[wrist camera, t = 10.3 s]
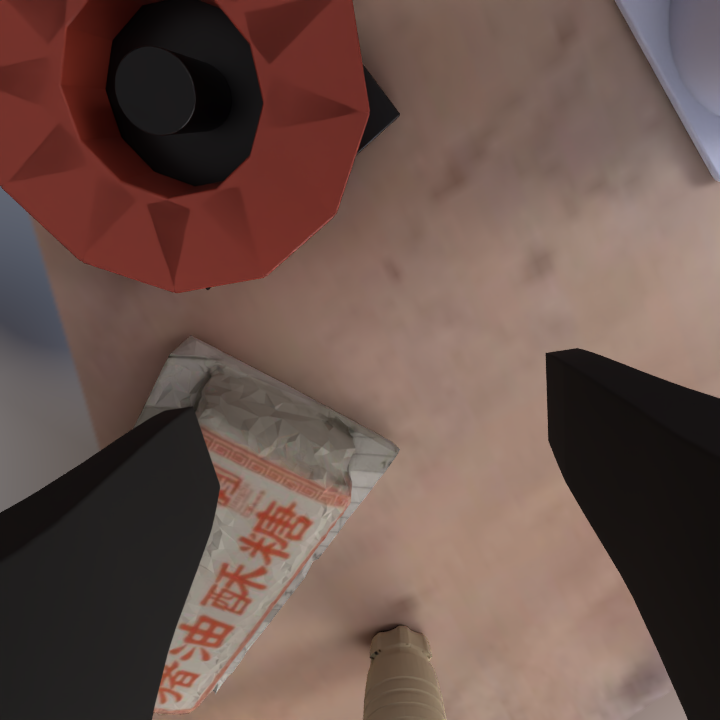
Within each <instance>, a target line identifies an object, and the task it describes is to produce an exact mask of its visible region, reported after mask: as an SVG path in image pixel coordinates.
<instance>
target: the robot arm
mask: <svg viewBox="0 0 720 720" xmlns="http://www.w3.org/2000/svg"><path fill="white" fill-rule="evenodd" d="M615 2H616V4H617V6H618V8H619V9H620V11H621V13H622V15H623V17H624V18H625V20H626V22H627V24H628V26H629V27H630V29H631V31H632V33H633V35H634V36H635V38H636V40H637V42H638V44H639V45H640V47H641V49H642V51H643V53H644V55H645V56H646V58H647V60H648V62H649V64H650V65H651V67H652V69H653V71H654V73H655V74H656V76H657V78H658V80H659V82H660V83H661V85H662V87H663V89H664V91H665V92H666V94H667V96H668V98H669V100H670V101H671V103H672V105H673V107H674V109H675V110H676V112H677V114H678V116H679V118H680V120H681V121H682V123H683V125H684V127H685V129H686V130H687V132H688V134H689V136H690V138H691V139H692V141H693V143H694V145H695V147H696V148H697V150H698V152H699V154H700V156H701V157H702V159H703V161H704V163H705V165H706V166H707V168H708V170H709V172H710V174H711V175H712V177H713V178H714V179H715V180H716V181H719V182H720V0H615ZM546 378H547V410H548V441H549V443H550V446H551V448H552V451H553V453H554V456H555V458H556V461H557V463H558V466H559V468H560V470H561V473H562V475H563V477H564V480H565V482H566V484H567V485H568V487H569V489H570V491H571V492H572V494H573V496H574V497H575V499H576V501H577V502H578V504H579V506H580V508H581V509H582V511H583V513H584V514H585V516H586V518H587V519H588V521H589V523H590V524H591V526H592V528H593V529H594V531H595V533H596V534H597V536H598V538H599V539H600V541H601V543H602V544H603V546H604V548H605V549H606V551H607V553H608V554H609V556H610V558H611V559H612V561H613V563H614V564H615V566H616V568H617V569H618V571H619V573H620V574H621V576H622V578H623V580H624V582H625V584H626V585H627V587H628V589H629V591H630V593H631V595H632V597H633V598H634V601H635V603H636V605H637V607H638V609H639V611H640V613H641V616H642V618H643V620H644V622H645V624H646V626H647V629H648V631H649V633H650V635H651V637H652V639H653V642H654V644H655V646H656V648H657V650H658V652H659V655H660V657H661V659H662V661H663V664H664V666H665V668H666V671H667V673H668V675H669V677H670V680H671V682H672V684H673V687H674V689H675V691H676V693H677V696H678V698H679V700H680V702H681V705H682V707H683V709H684V711H685V714H686V716H687V719H688V720H720V398H717V397H713V396H710V395H707V394H704V393H701V392H698V391H695V390H692V389H689V388H686V387H683V386H680V385H677V384H674V383H672V382H669V381H666V380H663V379H661V378H658V377H655V376H653V375H650V374H647V373H645V372H642V371H639V370H637V369H634V368H632V367H629V366H627V365H624V364H622V363H619V362H616V361H614V360H611V359H609V358H606V357H603V356H601V355H598V354H595V353H592V352H589V351H586V350H583V349H578V348H576V349H569V350H563V351H556V352H549V353H546ZM219 491H220V483H219V480H218V478H217V475H216V472H215V469H214V466H213V463H212V460H211V457H210V454H209V451H208V448H207V445H206V443H205V440H204V437H203V434H202V431H201V428H200V425H199V422H198V419H197V416H196V413H195V410H194V408H193V406H191V407H185V408H178V409H172V410H165V411H163V412H161V413H159V414H157V415H155V416H153V417H151V418H149V419H148V420H146V421H144V422H143V423H141V424H140V425H138V426H137V427H135V428H134V429H132V430H131V431H129V432H128V433H126V434H125V435H123V436H122V437H120V438H119V439H117V440H116V441H114V442H113V443H111V444H110V445H108V446H107V447H105V448H104V449H102V450H101V451H99V452H98V453H96V454H95V455H93V456H92V457H90V458H89V459H88V460H86V461H85V462H83V463H81V464H80V465H78V466H77V467H75V468H74V469H72V470H70V471H69V472H67V473H66V474H64V475H63V476H61V477H59V478H58V479H56V480H55V481H53V482H52V483H50V484H48V485H47V486H45V487H44V488H42V489H41V490H39V491H37V492H36V493H34V494H32V495H31V496H29V497H28V498H26V499H24V500H22V501H20V502H19V503H17V504H15V505H13V506H12V507H10V508H8V509H6V510H4V511H2V512H1V513H0V720H152V716H153V712H154V707H155V703H156V699H157V695H158V691H159V687H160V683H161V679H162V675H163V671H164V667H165V663H166V659H167V655H168V652H169V648H170V645H171V642H172V639H173V636H174V633H175V630H176V627H177V624H178V621H179V618H180V616H181V613H182V610H183V608H184V605H185V602H186V599H187V597H188V594H189V591H190V588H191V586H192V583H193V580H194V578H195V575H196V572H197V569H198V567H199V564H200V561H201V558H202V556H203V553H204V550H205V547H206V544H207V542H208V539H209V536H210V533H211V530H212V526H213V522H214V517H215V513H216V508H217V502H218V497H219Z"/></svg>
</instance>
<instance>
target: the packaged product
mask: <svg viewBox="0 0 720 720" xmlns="http://www.w3.org/2000/svg"><path fill="white" fill-rule="evenodd" d="M191 406H193V408H194V410H195V413H196V416H197V419H198V422H199V425H200V428H201V431H202V434H203V437H204V440H205V443H206V445H207V448H208V451H209V454H210V457H211V460H212V463H213V466H214V469H215V472H216V475H217V478H218V480H219V483H220V491H219V497H218V502H217V508H216V513H215V517H214V522H213V526H212V530H211V533H210V536H209V539H208V542H207V544H206V547H205V550H204V553H203V556H202V558H201V561H200V564H199V567H198V569H197V572H196V575H195V578H194V580H193V583H192V586H191V588H190V591H189V594H188V597H187V599H186V602H185V605H184V608H183V610H182V613H181V616H180V618H179V621H178V624H177V627H176V630H175V633H174V636H173V639H172V642H171V645H170V648H169V652H168V655H167V659H166V663H165V667H164V671H163V675H162V679H161V683H160V687H159V691H158V695H157V699H156V703H155V707H154V712H153V713H155V712H157V714H158V715H167V714H188V713H190V712H191V711H193V710H194V709H196V708H197V707H199V706H200V704H201V703H202V701H203V700H204V699H205V698H206V697H207V696H208V695H209V694H210V693H211V692H212V691H214V692H215V694H216V693H217V691H218V690H219V688H220V687H221V685H222V684H223V683H224V681H225V680H226V679H227V677H228V676H229V675H230V674H232V673H233V671H234V670H235V668H236V667H237V666H238V664H239V663H240V662H241V660H242V659H243V657H244V655H245V653H246V652H247V651H248V650H249V648H250V647H251V646H252V645H253V643H254V642H255V641H256V639H257V638H258V637H259V636H260V634H261V633H262V632H263V631H264V629H265V628H266V627H267V626H268V624H269V623H270V622H271V621H272V619H273V618H274V617H275V615H276V614H277V613H278V612H279V610H280V609H281V608H282V606H283V605H284V604H285V602H286V601H287V599H288V598H289V597H290V596H291V595H292V593H293V592H294V591H295V590H296V588H297V587H298V586H299V584H300V583H301V582H302V580H303V579H304V578H305V576H306V574H307V572H308V570H309V568H310V566H311V564H312V562H313V561H314V560H317V559H319V557H320V556H321V555H322V553H323V552H324V551H325V549H326V548H327V547H328V545H329V544H330V543H331V541H332V540H333V539H334V537H335V536H336V535H337V534H338V532H339V531H340V530H341V528H342V527H343V525H344V524H345V522H346V520H347V519H348V518H349V517H350V516H351V514H352V513H353V512H354V511H355V510H356V508H357V507H358V506H359V505H360V503H361V502H362V501H363V499H364V498H365V497H366V496H367V494H368V493H369V492H370V491H371V489H372V488H373V486H374V485H375V483H376V482H377V481H378V480H379V479H380V477H381V476H382V475H383V474H384V472H385V471H386V470H387V468H388V467H389V466H390V464H391V463H392V461H393V460H394V458H395V457H396V456H397V454H398V452H399V450H400V449H399V448H398V447H397V446H396V445H395V444H394V443H393V442H392V441H390V440H388V439H386V438H384V437H382V436H380V435H379V434H377V433H375V432H373V431H371V430H369V429H367V428H366V427H364V426H362V425H360V424H358V423H356V422H355V421H353V420H351V419H349V418H347V417H345V416H343V415H342V414H340V413H338V412H336V411H334V410H332V409H330V408H329V407H327V406H325V405H323V404H321V403H319V402H317V401H316V400H314V399H312V398H310V397H308V396H306V395H304V394H303V393H301V392H299V391H297V390H295V389H293V388H292V387H290V386H288V385H286V384H284V383H282V382H280V381H278V380H276V379H274V378H272V377H271V376H269V375H267V374H265V373H263V372H261V371H259V370H257V369H255V368H253V367H251V366H249V365H247V364H245V363H244V362H242V361H240V360H238V359H236V358H234V357H232V356H230V355H228V354H226V353H224V352H222V351H220V350H219V349H217V348H215V347H213V346H211V345H209V344H207V343H205V342H203V341H201V340H199V339H197V338H195V337H193V336H192V335H190V336H189V337H188V338H187V339H186V340H185V341H184V342H183V343H182V344H180V345H179V346H178V347H177V348H176V349H175V350H174V351H173V352H172V353H171V354H170V355H169V357H168V359H167V361H166V363H165V365H164V366H163V369H162V371H161V373H160V375H159V377H158V379H157V381H156V383H155V385H154V387H153V389H152V392H151V394H150V396H149V398H148V400H147V402H146V404H145V406H144V408H143V410H142V412H141V414H140V416H139V418H138V420H137V422H136V424H135V426H134V428H135V427H137V426H138V425H140V424H141V423H143V422H144V421H146V420H148V419H149V418H151V417H153V416H155V415H157V414H159V413H161V412H163V411H165V410H172V409H178V408H185V407H191ZM134 428H133V429H134Z"/></svg>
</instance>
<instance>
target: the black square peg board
mask: <svg viewBox="0 0 720 720" xmlns="http://www.w3.org/2000/svg"><path fill="white" fill-rule="evenodd" d="M363 71H364V77H365V83H366V90H367V96H368V102H369V109H370V112H369V118H368V121H367V124H366V127H365V130H364V133H363V136H362V139H361V142H360V145H359V148H358V151H357V154H358V153H359V152H361V151H362V150H363V149H364V148H365V147H366V146H367V145H368V144H369V143H370V142H372V141H373V140H374V139H375V138H376V137H377V136H378V135H379V134H380V133H381V132H383V131H384V130H385V129H386V128H387V127H388V126H389V125H390V124H391V123H392V122H394V121H395V120H396V119H397V118H398V117H399V116H400V113H399V112H398V111H397V109H396V108H395V107H394V105H393V104H392V103H391V101H390V100H389V99H388V97H387V96H386V95H385V93H384V92H383V91H382V89H381V88H380V87H379V85H378V84H377V82H376V81H375V80H374V78H373V77H372V76H371V74H370V73H369V72H368V70H367V69H366V68H365V66H364V65H363ZM105 90H106V93H107V96H108V99H109V102H110V105H111V108H112V111H113V114H114V117H115V120H116V123H117V126H118V129H119V132H120V135H121V137H122V138H123V140H124V141H125V142H126V143H127V144H128V145H129V146H130V147H131V148H132V149H133V150H134V151H135V152H136V153H137V154H138V155H139V156H140V157H141V158H142V159H143V161H144V162H145V163H146V164H147V165H148V166H149V167H150V168H151V169H152V170H153V171H154V172H156V173H159V174H162V175H165V176H168V177H170V178H173V179H176V180H179V181H181V182H184V183H187V184H190V185H193V186H200V185H205V184H211V183H216V182H221V181H224V180H225V179H226V178H227V177H228V176H229V175H230V174H231V173H232V172H233V171H234V170H235V169H236V168H237V167H238V166H239V165H240V164H241V163H242V162H243V161H244V160H245V159H246V158H247V157H248V156H250V153H251V149H252V145H253V141H254V137H255V133H256V129H257V125H258V121H259V118H260V114H261V110H262V106H263V100H262V96H261V91H260V87H259V83H258V78H257V74H256V70H255V65H254V61H253V57H252V52H251V48H250V44H249V43H248V42H247V41H246V39H245V38H244V37H243V36H242V34H241V33H240V32H239V31H238V29H237V28H236V27H235V26H234V24H233V23H232V22H231V21H230V20H229V18H228V17H227V16H226V15H225V13H224V12H223V11H222V10H221V9H220V8H217V7H215V6H212V5H210V4H207V3H205V2H202V1H200V0H164V1H160V2H155V3H151V4H146V5H142V6H141V7H140V9H139V10H138V11H137V12H136V13H135V15H134V16H133V17H132V18H131V19H130V20H129V22H128V23H127V24H126V25H125V26H124V27H123V29H122V30H121V31H120V32H119V33H118V34H117V36H116V37H115V38H114V39H113V40H112V47H111V53H110V60H109V67H108V74H107V81H106V88H105ZM357 154H356V155H357ZM210 288H211V287H209V288H206V289H207V290H209V289H210Z"/></svg>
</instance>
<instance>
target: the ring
mask: <svg viewBox="0 0 720 720" xmlns="http://www.w3.org/2000/svg"><path fill="white" fill-rule="evenodd" d="M160 1H164V0H0V186H1V187H2V189H4V191H5V192H7V193H8V194H9V195H10V196H11V197H12V198H13V199H14V200H15V201H16V202H17V203H18V204H20V205H21V206H22V207H23V208H24V209H25V210H26V211H27V212H28V213H29V214H30V215H31V216H32V217H33V218H34V219H36V220H37V221H38V222H39V223H40V224H41V225H42V226H43V227H44V228H45V229H46V230H47V231H48V232H50V233H51V234H52V235H53V236H54V237H55V238H56V239H57V240H58V241H59V242H60V243H61V244H62V245H63V246H65V247H66V248H67V249H68V250H69V251H70V252H71V253H72V254H73V255H74V256H75V257H76V258H77V259H79V260H80V261H82V262H83V263H86V264H89V265H92V266H95V267H98V268H101V269H104V270H107V271H110V272H113V273H116V274H119V275H122V276H125V277H128V278H131V279H134V280H137V281H140V282H143V283H146V284H150V285H153V286H156V287H159V288H162V289H165V290H168V291H171V292H175V293H181V292H186V291H192V290H198V289H203V288H209V287H214V286H220V285H226V284H231V283H237V282H243V281H248V280H254V279H259V278H264V277H265V276H268V275H269V274H270V273H271V272H272V271H273V270H274V269H275V268H277V267H278V266H279V265H280V264H281V263H282V262H283V261H285V260H286V259H287V258H288V257H289V256H290V255H291V254H293V253H294V252H295V251H296V250H297V249H298V248H299V247H300V246H302V245H303V244H304V243H305V242H306V241H307V240H308V239H310V238H311V237H312V236H313V235H314V234H315V233H316V232H318V231H319V230H320V229H321V228H322V227H323V226H324V225H325V224H327V223H328V222H329V221H330V220H331V219H332V218H333V217H334V216H335V215H336V214H337V211H338V208H339V205H340V202H341V199H342V196H343V193H344V190H345V187H346V184H347V181H348V178H349V175H350V172H351V169H352V166H353V163H354V160H355V157H356V154H357V151H358V148H359V145H360V142H361V139H362V136H363V133H364V130H365V127H366V124H367V121H368V118H369V112H370V109H369V102H368V96H367V90H366V83H365V77H364V71H363V64H362V58H361V52H360V45H359V39H358V33H357V26H356V20H355V14H354V7H353V1H352V0H200V1H202V2H205V3H207V4H210V5H212V6H215V7H217V8H220V9H221V10H222V11H223V12H224V13H225V15H226V16H227V17H228V18H229V20H230V21H231V22H232V23H233V24H234V26H235V27H236V28H237V29H238V31H239V32H240V33H241V34H242V36H243V37H244V38H245V39H246V41H247V42H248V43H249V44H250V48H251V52H252V57H253V61H254V65H255V70H256V74H257V78H258V83H259V87H260V91H261V96H262V100H263V106H262V110H261V114H260V118H259V121H258V125H257V129H256V133H255V137H254V141H253V145H252V149H251V153H250V156H248V157H247V158H246V159H245V160H244V161H243V162H242V163H241V164H240V165H239V166H238V167H237V168H236V169H235V170H234V171H233V172H232V173H231V174H230V175H229V176H228V177H227V178H226V179H225V180H224V181H221V182H216V183H211V184H205V185H200V186H193V185H190V184H187V183H184V182H181V181H179V180H176V179H173V178H170V177H168V176H165V175H162V174H159V173H156V172H154V171H153V170H152V169H151V168H150V167H149V166H148V165H147V164H146V163H145V162H144V161H143V159H142V158H141V157H140V156H139V155H138V154H137V153H136V152H135V151H134V150H133V149H132V148H131V147H130V146H129V145H128V144H127V143H126V142H125V141H124V140H123V138H122V137H121V135H120V132H119V129H118V126H117V123H116V120H115V117H114V114H113V111H112V108H111V105H110V102H109V99H108V96H107V93H106V90H105V88H106V81H107V74H108V67H109V60H110V53H111V47H112V40H113V39H114V38H115V37H116V36H117V34H118V33H119V32H120V31H121V30H122V29H123V27H124V26H125V25H126V24H127V23H128V22H129V20H130V19H131V18H132V17H133V16H134V15H135V13H136V12H137V11H138V10H139V9H140V7H141V6H142V5H146V4H151V3H155V2H160Z"/></svg>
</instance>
